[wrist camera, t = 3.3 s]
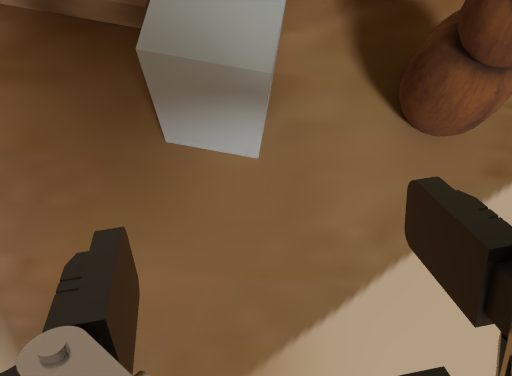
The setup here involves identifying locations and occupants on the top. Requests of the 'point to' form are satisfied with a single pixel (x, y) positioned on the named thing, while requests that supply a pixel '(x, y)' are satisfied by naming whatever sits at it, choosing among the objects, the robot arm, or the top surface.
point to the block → (211, 69)
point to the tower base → (92, 9)
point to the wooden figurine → (460, 70)
